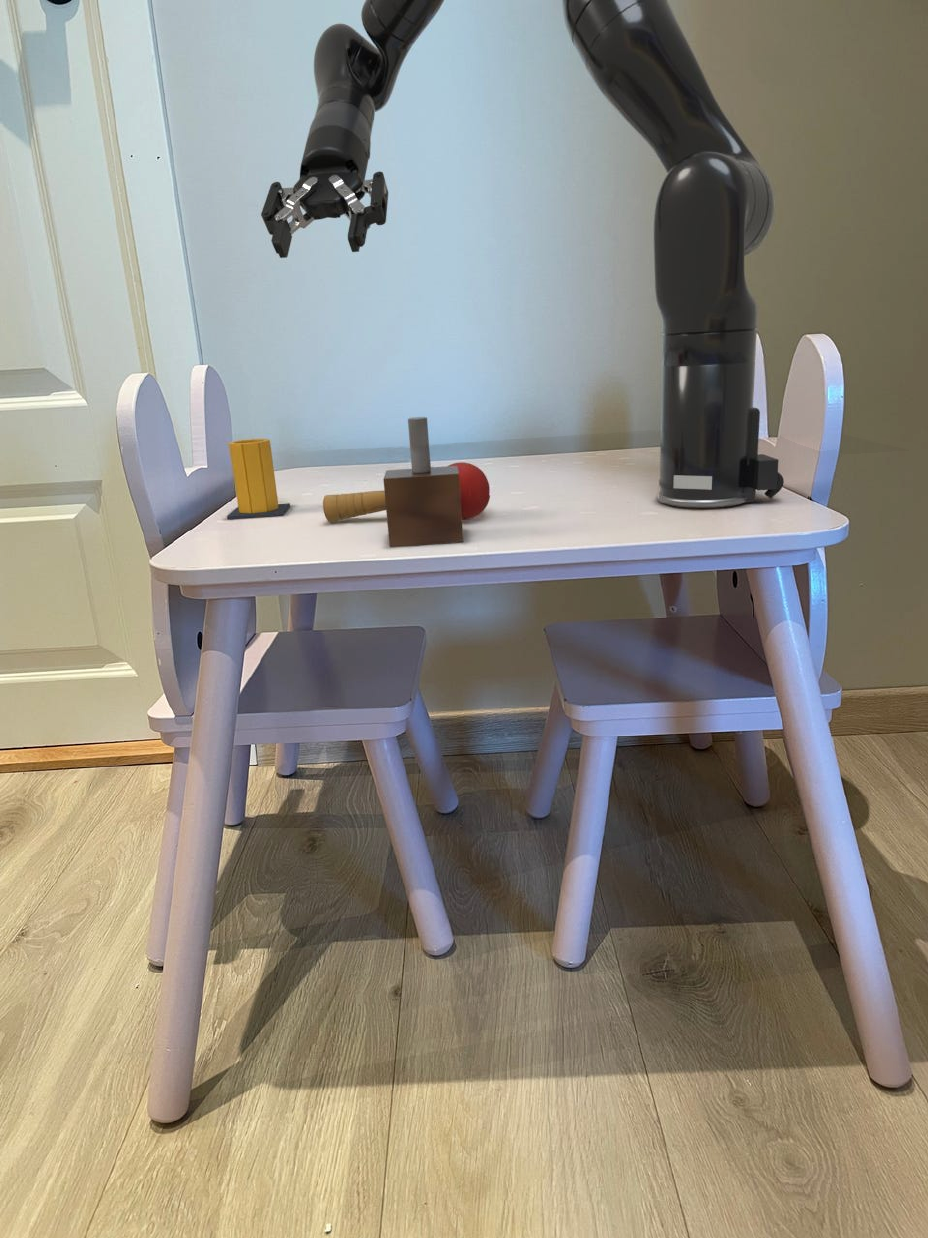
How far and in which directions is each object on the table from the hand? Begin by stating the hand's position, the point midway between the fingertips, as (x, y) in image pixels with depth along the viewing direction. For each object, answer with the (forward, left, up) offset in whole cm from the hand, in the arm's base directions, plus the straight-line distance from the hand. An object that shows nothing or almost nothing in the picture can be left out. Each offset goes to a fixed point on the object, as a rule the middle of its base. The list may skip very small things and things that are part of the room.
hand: (316, 248), depth 93 cm
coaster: (+10, +3, -29) cm, 30 cm away
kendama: (-8, +14, -29) cm, 33 cm away
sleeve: (+10, +3, -28) cm, 30 cm away
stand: (-10, +23, -29) cm, 38 cm away
